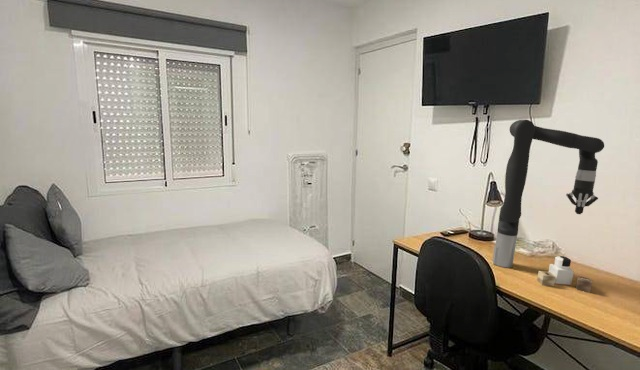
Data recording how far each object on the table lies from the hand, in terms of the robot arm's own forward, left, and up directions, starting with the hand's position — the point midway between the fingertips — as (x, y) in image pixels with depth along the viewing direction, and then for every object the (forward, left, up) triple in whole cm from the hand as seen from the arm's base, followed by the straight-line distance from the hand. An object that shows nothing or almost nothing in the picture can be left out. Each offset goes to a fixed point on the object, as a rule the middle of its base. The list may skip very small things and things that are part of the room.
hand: (578, 213), depth 166 cm
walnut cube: (+1, -19, -31) cm, 36 cm away
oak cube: (-14, -20, -31) cm, 40 cm away
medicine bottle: (-7, -14, -31) cm, 35 cm away
